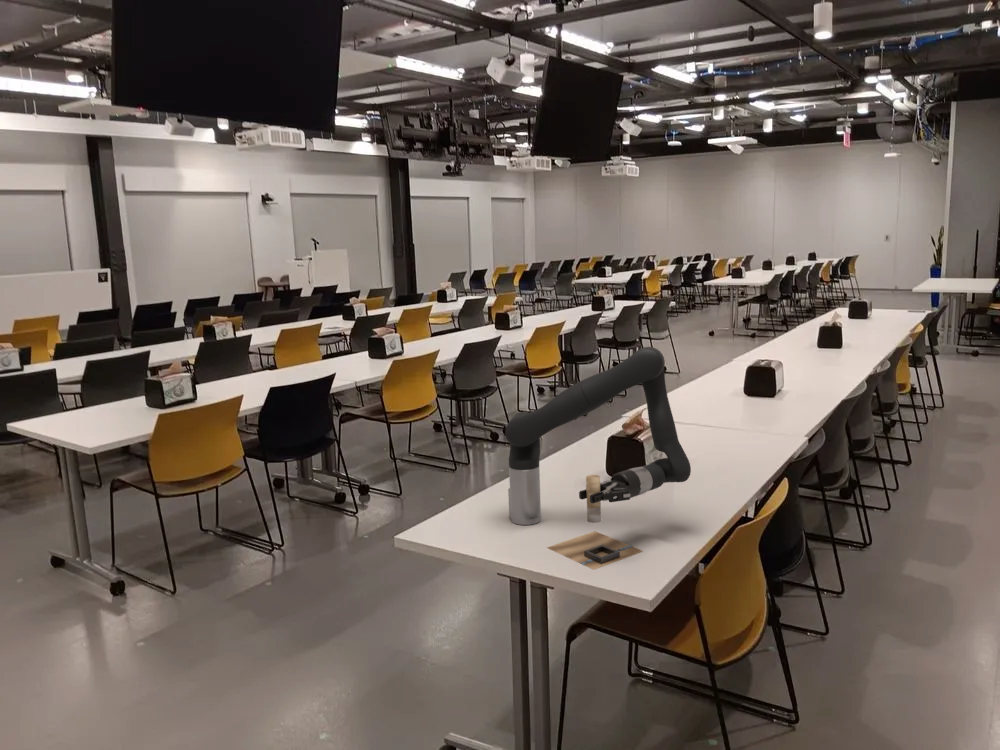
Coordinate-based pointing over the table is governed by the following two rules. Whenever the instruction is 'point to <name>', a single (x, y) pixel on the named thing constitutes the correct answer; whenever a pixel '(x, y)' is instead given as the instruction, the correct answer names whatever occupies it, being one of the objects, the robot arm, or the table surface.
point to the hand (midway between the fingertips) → (585, 497)
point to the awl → (591, 488)
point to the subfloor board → (585, 542)
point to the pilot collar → (611, 556)
